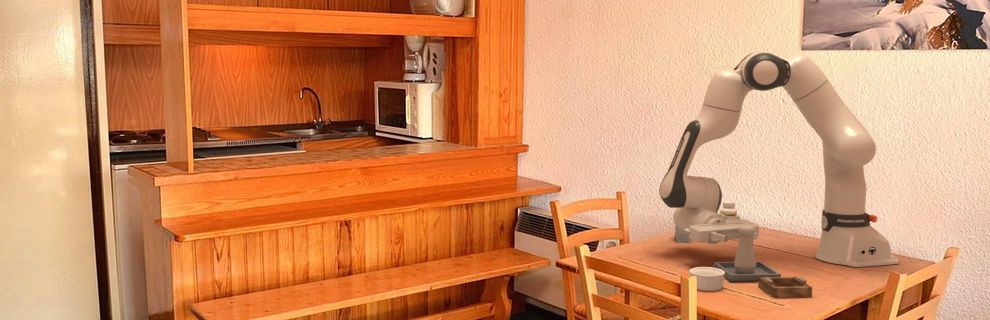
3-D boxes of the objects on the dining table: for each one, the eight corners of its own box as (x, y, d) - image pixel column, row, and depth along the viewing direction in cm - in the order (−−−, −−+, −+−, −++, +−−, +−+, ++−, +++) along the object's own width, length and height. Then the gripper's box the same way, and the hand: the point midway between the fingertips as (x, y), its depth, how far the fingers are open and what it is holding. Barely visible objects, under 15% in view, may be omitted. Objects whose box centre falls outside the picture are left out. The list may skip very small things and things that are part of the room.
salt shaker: (755, 276, 232) (757, 229, 230) (733, 274, 234) (735, 227, 232) (756, 271, 237) (758, 224, 235) (734, 269, 239) (736, 223, 237)
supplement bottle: (737, 229, 292) (738, 201, 291) (734, 233, 287) (735, 204, 286) (721, 228, 294) (722, 200, 293) (718, 231, 289) (719, 202, 288)
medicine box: (674, 236, 282) (675, 210, 280) (688, 237, 281) (689, 211, 280) (676, 242, 274) (677, 215, 273) (690, 242, 273) (691, 215, 272)
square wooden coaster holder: (795, 286, 225) (795, 273, 225) (811, 297, 215) (812, 284, 215) (758, 286, 224) (758, 274, 224) (773, 298, 214) (773, 285, 214)
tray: (761, 268, 242) (761, 261, 242) (780, 281, 229) (781, 274, 229) (713, 269, 241) (714, 262, 241) (730, 282, 228) (730, 275, 228)
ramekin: (703, 293, 218) (703, 277, 218) (682, 284, 226) (682, 268, 226) (731, 289, 222) (732, 273, 221) (709, 281, 230) (710, 265, 229)
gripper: (680, 219, 246) (708, 229, 233) (741, 214, 253) (771, 224, 240) (679, 240, 247) (707, 252, 234) (740, 235, 254) (770, 246, 241)
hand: (740, 237), depth 237 cm, fingers open, 8 cm apart
